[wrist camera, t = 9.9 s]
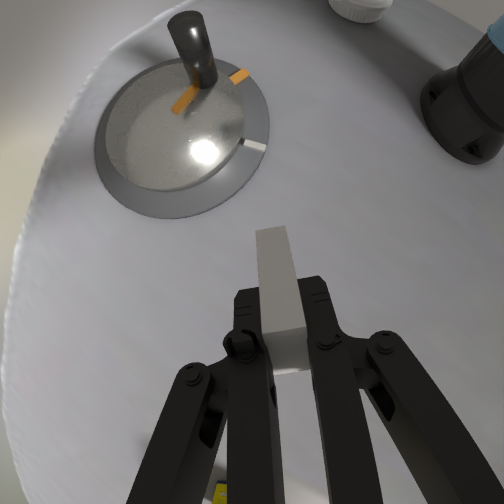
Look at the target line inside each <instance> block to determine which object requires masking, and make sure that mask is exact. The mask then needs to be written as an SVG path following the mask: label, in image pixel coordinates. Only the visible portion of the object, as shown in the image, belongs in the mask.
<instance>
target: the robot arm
mask: <svg viewBox="0 0 504 504" xmlns="http://www.w3.org/2000/svg"><path fill="white" fill-rule="evenodd" d="M421 108H422V112H423V116H424V119H425V121H426V123H427V125H428V127H429V129H430V131H431V133H432V134H433V136H434V137H435V138H436V140H437V141H438V142H439V143H440V145H441V146H442V147H443V148H444V149H445V150H446V151H447V152H449V153H450V154H451V155H452V156H454V157H455V158H457V159H459V160H460V161H463V162H465V163H468V164H473V165H478V164H483V163H485V162H487V161H489V160H490V159H492V158H494V157H495V156H496V155H497V154H498V152H499V151H500V149H501V148H502V146H503V145H504V14H503V15H502V16H501V17H500V18H499V19H498V20H497V21H496V22H495V23H494V24H491V25H490V26H489V27H488V29H487V33H486V34H485V35H484V36H483V37H482V39H481V40H480V41H479V42H478V43H477V44H476V46H475V47H474V48H473V49H472V50H471V51H470V52H469V53H468V55H467V56H466V57H465V58H464V59H463V60H462V62H461V63H460V64H459V65H458V66H455V67H453V68H450V69H448V70H445V71H443V72H441V73H438V74H436V75H435V76H433V77H432V78H431V79H430V80H429V82H428V83H427V84H426V85H425V87H424V88H423V91H422V94H421ZM256 246H257V262H258V278H259V287H255V288H249V289H243V290H239V291H238V293H237V295H236V297H235V298H234V325H233V330H232V331H230V332H229V333H228V334H227V335H226V336H225V337H224V340H223V346H224V348H225V350H226V352H227V356H226V357H225V358H224V359H223V360H221V361H219V362H217V363H214V364H211V365H209V366H206V365H205V364H202V363H199V362H195V363H190V364H187V365H185V366H184V367H182V368H181V369H180V370H179V372H178V374H177V375H176V378H175V380H174V383H173V385H172V388H171V390H170V392H169V395H168V397H167V400H166V402H165V405H164V407H163V410H162V412H161V415H160V417H159V420H158V422H157V425H156V427H155V430H154V432H153V435H152V437H151V440H150V442H149V445H148V448H147V450H146V453H145V455H144V458H143V460H142V463H141V465H140V468H139V471H138V473H137V476H136V478H135V481H134V484H133V486H132V489H131V492H130V494H129V497H128V500H127V502H126V504H202V501H203V497H204V494H205V491H206V488H207V484H208V481H209V478H210V474H211V471H212V468H213V464H214V461H215V458H216V454H217V451H218V448H219V444H220V441H221V437H222V434H223V431H224V427H225V424H226V420H227V504H285V496H284V482H283V469H282V456H281V444H280V431H279V419H278V407H277V395H276V386H275V383H274V376H273V373H274V375H278V374H284V373H291V372H297V371H303V370H308V369H311V374H312V383H313V390H314V395H315V401H316V408H317V414H318V421H319V428H320V434H321V441H322V449H323V456H324V463H325V471H326V478H327V486H328V494H329V503H330V504H383V499H382V493H381V488H380V482H379V477H378V472H377V467H376V462H375V457H374V452H373V448H372V443H371V438H370V434H369V429H368V425H367V421H366V417H365V412H364V408H363V404H362V400H361V396H360V392H359V389H364V391H365V393H366V394H367V396H368V398H369V400H370V401H371V403H372V405H373V406H374V408H375V410H376V412H377V413H378V415H379V417H380V419H381V420H382V422H383V424H384V426H385V427H386V429H387V431H388V433H389V434H390V436H391V438H392V440H393V441H394V443H395V445H396V447H397V448H398V450H399V452H400V454H401V456H402V457H403V459H404V461H405V463H406V465H407V466H408V468H409V470H410V472H411V474H412V475H413V477H414V479H415V481H416V483H417V484H418V486H419V488H420V490H421V492H422V494H423V496H424V497H425V499H426V501H427V503H428V504H504V489H503V487H502V485H501V484H500V482H499V480H498V479H497V477H496V475H495V474H494V472H493V470H492V469H491V467H490V465H489V464H488V462H487V460H486V459H485V457H484V456H483V454H482V452H481V451H480V449H479V448H478V446H477V444H476V443H475V441H474V440H473V438H472V437H471V435H470V434H469V432H468V431H467V429H466V428H465V426H464V425H463V423H462V422H461V420H460V419H459V417H458V416H457V414H456V413H455V411H454V410H453V408H452V407H451V405H450V404H449V403H448V401H447V400H446V398H445V397H444V395H443V394H442V393H441V391H440V390H439V388H438V387H437V385H436V384H435V383H434V381H433V380H432V379H431V377H430V376H429V374H428V373H427V372H426V370H425V369H424V368H423V366H422V365H421V363H420V362H419V361H418V359H417V358H416V357H415V355H414V354H413V353H412V351H411V350H410V349H409V347H408V346H407V345H406V344H405V342H404V341H403V340H402V338H401V337H400V336H399V335H398V334H396V333H394V332H392V331H384V330H383V331H379V332H376V333H375V334H373V335H372V336H371V337H370V338H369V339H364V338H354V337H351V336H348V335H346V334H345V333H344V332H343V331H342V330H341V329H340V327H339V325H338V321H337V318H336V314H335V311H334V308H333V304H332V301H331V298H330V294H329V291H328V288H327V285H326V282H325V281H324V280H323V279H322V278H321V277H320V276H319V275H318V276H313V277H308V278H302V279H297V278H296V273H295V268H294V264H293V259H292V254H291V250H290V245H289V241H288V236H287V232H286V227H285V226H280V227H274V228H269V229H264V230H258V231H256Z"/></svg>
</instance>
